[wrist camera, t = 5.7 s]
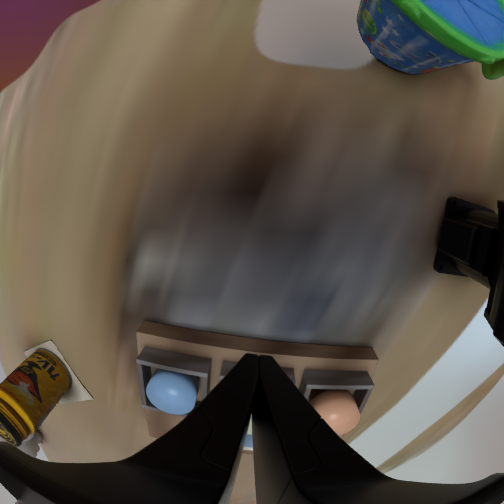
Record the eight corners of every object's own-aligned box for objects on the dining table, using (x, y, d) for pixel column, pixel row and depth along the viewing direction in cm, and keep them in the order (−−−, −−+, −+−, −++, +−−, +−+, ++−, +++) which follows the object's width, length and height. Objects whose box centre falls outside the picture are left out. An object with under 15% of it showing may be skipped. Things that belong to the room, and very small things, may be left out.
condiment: (51, 339, 25) (-14, 400, 13) (94, 398, 26) (48, 469, 15) (24, 350, 26) (-31, 402, 14) (62, 403, 27) (19, 461, 16)
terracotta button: (360, 389, 20) (367, 404, 18) (345, 420, 21) (350, 436, 19) (314, 388, 20) (318, 405, 18) (302, 420, 21) (304, 437, 19)
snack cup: (287, 39, 17) (302, -44, 7) (327, -34, 14) (350, -104, 5) (454, 132, 18) (539, 122, 8) (470, 50, 15) (535, 20, 6)
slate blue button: (200, 368, 21) (195, 384, 19) (199, 402, 22) (194, 418, 20) (152, 359, 21) (144, 373, 19) (155, 393, 22) (148, 408, 20)
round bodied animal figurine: (57, 418, 32) (37, 442, 24) (41, 453, 30) (24, 477, 22) (24, 390, 31) (0, 410, 23) (11, 429, 29) (-9, 449, 21)
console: (371, 347, 23) (386, 373, 19) (329, 443, 27) (334, 469, 23) (144, 320, 23) (126, 344, 19) (154, 423, 27) (144, 448, 23)
